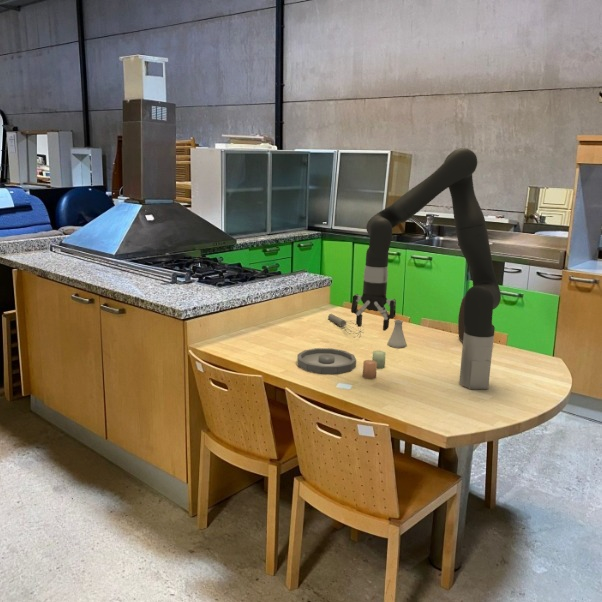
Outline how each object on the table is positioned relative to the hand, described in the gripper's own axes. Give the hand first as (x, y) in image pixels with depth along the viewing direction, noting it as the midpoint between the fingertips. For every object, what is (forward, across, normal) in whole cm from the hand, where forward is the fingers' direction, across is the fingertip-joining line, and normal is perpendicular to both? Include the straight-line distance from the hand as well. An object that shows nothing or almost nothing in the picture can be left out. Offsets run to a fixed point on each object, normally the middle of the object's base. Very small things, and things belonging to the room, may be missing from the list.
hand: (372, 328), depth 198 cm
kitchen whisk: (+17, +27, -50) cm, 59 cm away
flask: (+17, 0, -38) cm, 41 cm away
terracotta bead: (+16, 0, 0) cm, 17 cm away
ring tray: (+17, +17, -4) cm, 24 cm away
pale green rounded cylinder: (+16, 0, -11) cm, 20 cm away
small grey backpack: (+16, -25, -56) cm, 63 cm away
